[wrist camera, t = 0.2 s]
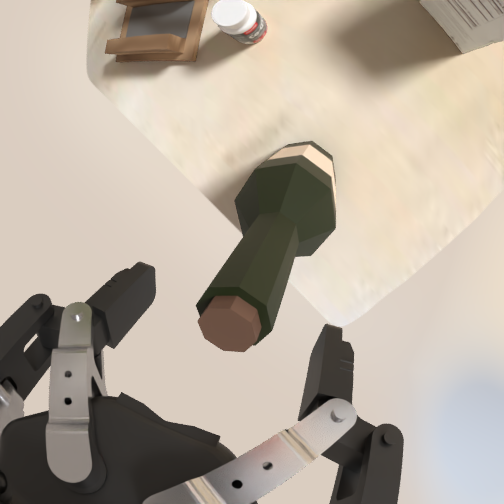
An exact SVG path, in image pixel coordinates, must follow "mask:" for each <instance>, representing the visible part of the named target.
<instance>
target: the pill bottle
mask: <svg viewBox="0 0 504 504" xmlns="http://www.w3.org/2000/svg"><path fill="white" fill-rule="evenodd" d="M211 16H212V19H213V21H214V22H215V23H216V24H217V25H218V27H219V28H220V29H221V30H222V31H223V32H225V33H226V34H228V35H230V36H231V37H233V38H234V39H236V40H237V41H239V42H241V43H244V44H254V43H257V42H259V41H261V40H262V39H263V38H264V37H265V35H266V33H267V30H268V27H267V23H266V21H265V20H264V19H263V18H262V16H261V15H260V14H259V13H258V12H257V11H256V9H255V8H254V7H253V6H252V5H250V4H249V3H247V2H244V1H243V0H220V1H218V2H217V3H216V4H215V5H214V7H213V9H212V12H211Z"/></svg>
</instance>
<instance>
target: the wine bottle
mask: <svg viewBox="0 0 504 504" xmlns="http://www.w3.org/2000/svg"><path fill="white" fill-rule="evenodd" d="M235 205H236V209H237V213H238V217H239V221H240V225H241V229H242V234H243V238H242V240H241V241H240V242H239V244H238V245H237V247H236V248H235V249H234V251H233V252H232V254H231V255H230V257H229V258H228V260H227V261H226V263H225V264H224V265H223V267H222V268H221V270H220V271H219V272H218V274H217V275H216V277H215V278H214V280H213V281H212V283H211V284H210V286H209V287H208V288H207V290H206V291H205V293H204V294H203V296H202V297H201V299H200V300H199V301H198V303H197V304H196V307H197V310H198V312H199V315H200V318H199V320H198V324H199V326H200V328H201V331H202V333H203V335H204V338H205V339H206V340H208V341H210V342H211V343H212V344H214V345H216V346H217V347H218V348H220V349H222V350H223V351H236V352H245V351H246V350H247V349H248V348H249V347H250V346H252V345H256V344H257V343H259V341H261V340H262V339H263V338H264V337H266V335H268V334H269V333H270V332H271V331H272V329H273V326H274V323H275V320H276V317H277V314H278V311H279V308H280V304H281V301H282V298H283V295H284V292H285V288H286V285H287V282H288V278H289V275H290V272H291V268H292V265H293V262H294V258H295V257H300V256H311V255H312V254H313V253H314V252H315V251H316V250H317V249H318V248H319V246H320V245H321V244H322V243H323V242H324V241H325V240H326V239H327V238H328V236H329V235H330V234H331V233H332V232H333V231H334V230H335V229H336V179H335V172H334V165H333V158H332V155H330V154H329V153H328V152H326V151H325V150H324V149H322V148H321V147H320V146H318V145H317V144H316V143H314V142H313V141H309V142H301V143H294V144H288V145H287V146H285V147H284V148H283V149H281V150H280V151H278V152H277V153H276V154H274V155H273V156H272V157H270V158H269V159H268V160H266V161H265V162H264V163H262V164H261V165H260V166H258V167H257V168H256V169H255V170H254V172H253V173H252V175H251V176H250V178H249V179H248V181H247V182H246V184H245V185H244V187H243V188H242V190H241V191H240V193H239V194H238V196H237V197H236V199H235Z"/></svg>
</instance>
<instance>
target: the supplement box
mask: <svg viewBox="0 0 504 504" xmlns="http://www.w3.org/2000/svg"><path fill="white" fill-rule="evenodd" d="M419 3H420V4H421V5H422V6H423V7H424V8H425V9H426V10H427V11H428V12H429V14H430V15H431V16H432V17H433V18H434V19H435V20H436V21H437V23H438V24H439V25H440V26H441V27H442V28H443V29H444V31H445V32H446V33H447V34H448V36H449V37H450V38H451V39H452V41H453V42H454V43H455V45H456V46H457V47H458V49H459V50H460V51H461V52H462V54H465V53H467V52H470V51H473V50H476V49H479V48H482V47H485V46H488V45H490V44H492V43H496V42H500V41H504V0H420V1H419Z"/></svg>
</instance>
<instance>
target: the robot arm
mask: <svg viewBox="0 0 504 504" xmlns="http://www.w3.org/2000/svg"><path fill="white" fill-rule="evenodd" d="M155 294H156V284H155V268H154V267H153V266H150V265H148V264H145V263H142V262H138V263H136V264H135V265H134V266H133V267H132V268H131V269H128V268H127V269H124V270H122V271H120V272H118V273H116V274H115V275H114V276H113V277H112V278H111V280H109V281H108V282H106V283H105V285H103V286H102V287H101V288H100V289H99V290H98V291H97V292H96V293H95V294H94V295H92V296H91V297H90V298H89V299H88V300H87V301H86V302H85V303H82V302H75V303H72V304H70V305H68V306H67V307H66V308H65V307H60V306H55V305H52V303H51V300H50V298H49V296H47V295H45V294H36V295H33V296H32V297H30V298H29V299H28V300H27V301H26V302H25V303H24V304H23V305H22V306H21V307H20V308H19V309H18V310H17V311H16V312H15V313H14V314H13V315H12V316H11V317H10V318H9V319H8V320H7V321H6V322H5V323H4V324H3V325H2V326H1V327H0V504H258V503H257V501H256V500H258V499H259V498H261V497H262V496H264V495H266V494H267V493H269V492H270V491H272V490H273V489H275V488H276V487H277V486H279V485H281V484H282V483H284V482H285V481H287V480H288V479H289V478H291V477H292V476H294V475H295V474H296V473H298V472H299V471H300V470H302V469H303V468H304V467H306V466H307V465H308V464H309V463H311V462H312V461H313V460H314V459H316V458H317V457H318V456H319V455H322V456H324V457H326V458H328V459H330V460H332V461H334V462H336V463H338V464H339V468H338V472H337V476H336V480H335V485H334V489H333V493H332V496H331V500H330V503H329V504H397V501H398V494H399V487H400V479H401V469H402V457H403V443H404V442H403V441H404V439H403V435H402V433H401V431H400V430H399V429H398V428H397V427H396V426H394V425H391V424H382V425H380V426H378V427H375V426H373V425H372V424H370V423H367V422H366V421H364V420H362V419H360V417H358V415H357V414H356V410H355V408H354V407H353V406H352V390H353V368H354V365H353V363H354V352H353V349H352V347H351V344H350V343H349V342H345V341H342V328H340V327H336V326H333V325H328V324H325V326H324V327H323V329H322V332H321V334H320V336H319V338H318V340H317V342H316V344H315V346H314V348H313V350H312V353H311V357H310V362H309V367H308V373H307V378H306V383H305V388H304V393H303V398H302V403H301V407H300V412H299V416H298V421H300V422H299V423H297V424H296V425H294V426H293V427H291V428H290V429H288V430H286V429H285V430H283V431H281V432H279V433H278V434H276V435H274V436H273V437H271V438H270V439H268V440H267V441H265V442H263V443H262V444H260V445H259V446H257V447H255V448H253V449H252V450H250V451H249V452H247V453H245V454H243V455H241V456H240V457H238V458H236V456H235V455H234V454H233V453H232V452H231V451H230V450H229V449H228V448H227V447H225V446H224V445H223V444H221V443H219V439H220V436H218V435H216V434H212V433H210V432H207V431H205V430H202V429H199V428H197V427H195V426H189V425H183V424H178V423H172V422H168V421H165V420H163V419H162V418H161V417H159V416H158V415H157V414H156V413H154V412H153V411H152V410H151V409H149V408H148V407H147V406H146V405H144V404H143V403H141V402H139V401H137V400H135V399H133V398H131V397H130V396H128V395H126V394H124V393H122V392H121V394H120V395H119V397H112V396H108V395H107V391H106V386H105V376H104V357H103V348H104V347H105V345H108V346H109V347H111V348H113V349H114V348H115V347H116V346H117V345H118V343H119V342H120V341H121V340H122V339H123V337H124V336H125V335H126V334H127V333H128V331H129V330H130V329H131V328H132V327H133V325H134V324H135V323H136V322H137V320H138V319H139V318H140V317H141V316H142V315H143V313H144V312H145V311H146V310H147V309H148V308H149V306H150V305H151V304H152V302H153V301H154V298H155ZM35 334H37V336H38V337H37V338H36V340H35V341H34V342H33V343H32V344H31V345H30V346H29V348H28V349H27V350H26V351H25V352H24V347H25V345H26V344H27V343H28V342H29V341H30V339H31V338H32V337H33V336H34V335H35ZM50 366H51V371H50V386H49V410H48V411H45V412H41V413H37V414H33V415H29V416H25V417H24V411H23V408H24V403H23V402H24V400H25V399H26V397H27V396H28V395H29V393H30V392H31V391H32V389H33V388H34V387H35V385H36V384H37V383H38V381H39V380H40V379H41V377H42V376H43V375H44V373H45V372H46V371H47V369H48V368H49V367H50Z"/></svg>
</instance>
